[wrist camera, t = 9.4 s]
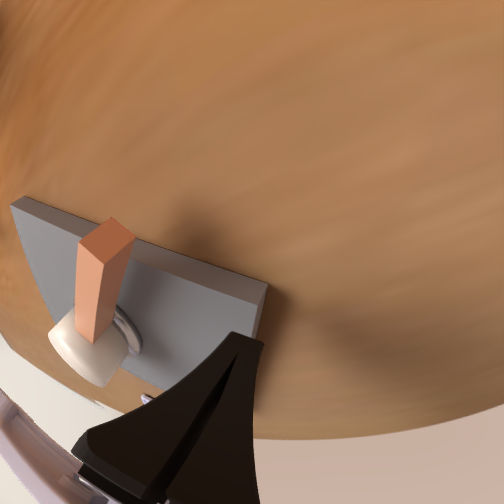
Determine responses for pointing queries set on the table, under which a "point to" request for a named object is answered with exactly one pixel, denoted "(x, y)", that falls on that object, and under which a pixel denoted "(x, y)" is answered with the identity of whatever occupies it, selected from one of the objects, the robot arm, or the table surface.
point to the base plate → (144, 295)
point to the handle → (96, 305)
